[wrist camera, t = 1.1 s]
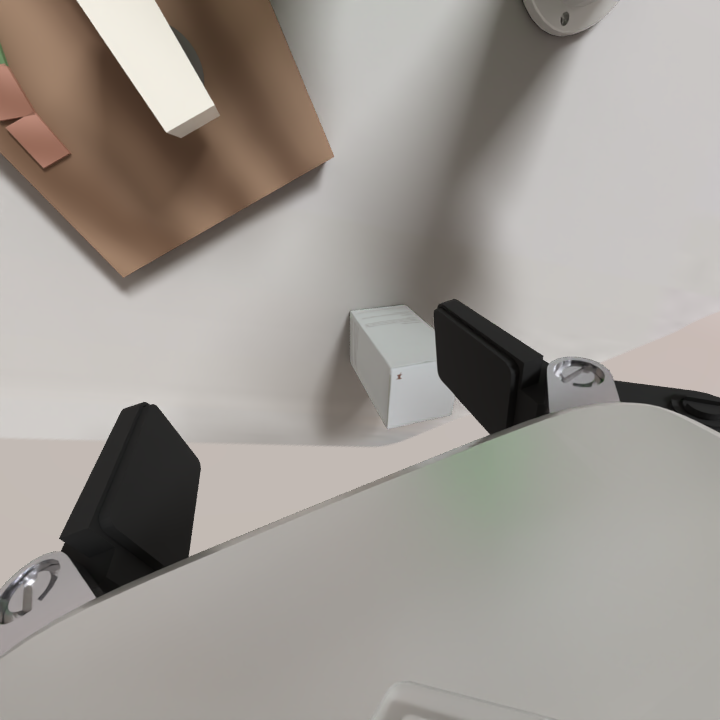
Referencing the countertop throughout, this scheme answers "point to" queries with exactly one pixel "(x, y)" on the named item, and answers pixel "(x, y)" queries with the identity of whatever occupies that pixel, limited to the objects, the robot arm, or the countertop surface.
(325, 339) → the countertop surface
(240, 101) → the tuner board
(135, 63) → the white piece
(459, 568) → the robot arm
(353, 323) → the supplement box
